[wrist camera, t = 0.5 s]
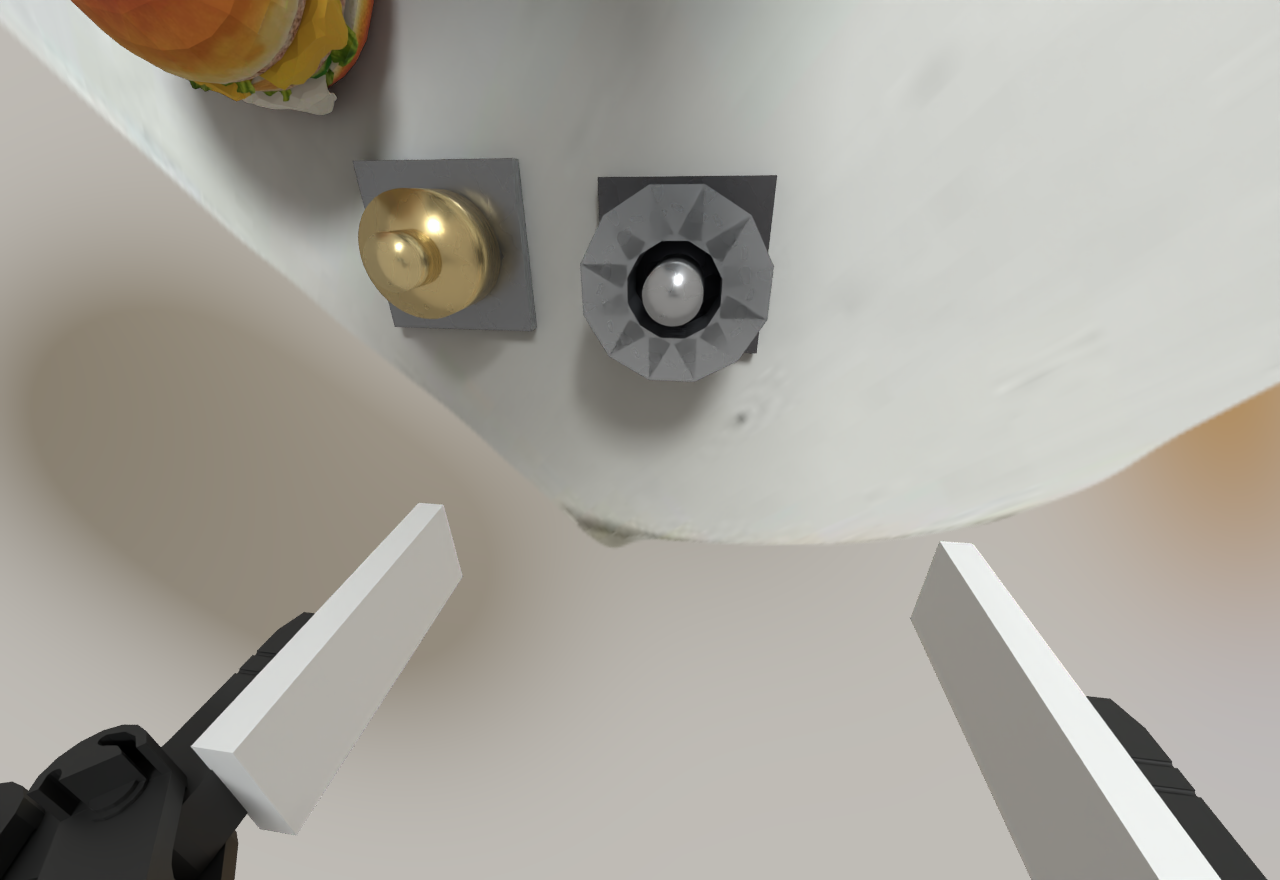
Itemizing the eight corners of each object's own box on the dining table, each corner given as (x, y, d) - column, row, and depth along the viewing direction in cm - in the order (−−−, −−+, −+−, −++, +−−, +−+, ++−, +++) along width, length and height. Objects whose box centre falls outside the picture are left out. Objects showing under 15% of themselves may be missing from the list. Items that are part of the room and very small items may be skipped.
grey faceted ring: (590, 186, 23) (575, 185, 21) (775, 184, 22) (783, 183, 19) (599, 359, 27) (587, 377, 25) (754, 365, 26) (759, 384, 24)
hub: (363, 161, 29) (269, 153, 23) (518, 159, 28) (462, 149, 21) (403, 323, 33) (334, 352, 27) (536, 327, 32) (495, 358, 26)
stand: (601, 177, 27) (557, 171, 19) (774, 176, 26) (802, 168, 18) (607, 343, 32) (574, 392, 24) (755, 348, 31) (770, 401, 23)
